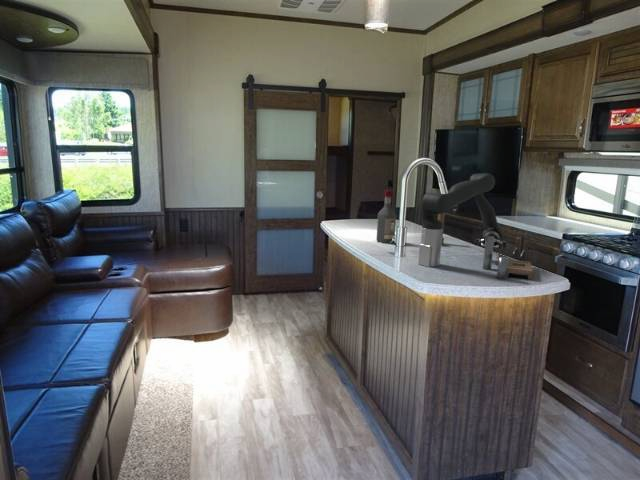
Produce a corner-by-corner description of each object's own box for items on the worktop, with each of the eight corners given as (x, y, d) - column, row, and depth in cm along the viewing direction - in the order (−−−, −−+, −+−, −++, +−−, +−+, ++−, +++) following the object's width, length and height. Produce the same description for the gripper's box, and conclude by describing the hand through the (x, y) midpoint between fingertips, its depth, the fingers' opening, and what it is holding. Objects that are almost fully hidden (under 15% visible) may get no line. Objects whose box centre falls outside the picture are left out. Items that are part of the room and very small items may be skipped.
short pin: (503, 280, 185) (505, 259, 183) (495, 278, 188) (497, 257, 186) (507, 279, 187) (509, 258, 186) (499, 277, 190) (501, 256, 188)
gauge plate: (531, 280, 187) (532, 270, 186) (505, 276, 191) (506, 267, 190) (529, 270, 203) (530, 261, 202) (505, 267, 207) (506, 259, 206)
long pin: (488, 270, 201) (491, 237, 198) (481, 268, 204) (484, 236, 201) (492, 269, 203) (495, 236, 201) (485, 267, 206) (488, 235, 203)
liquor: (374, 241, 261) (377, 190, 255) (384, 239, 267) (387, 189, 261) (386, 244, 254) (389, 191, 249) (396, 242, 260) (399, 190, 255)
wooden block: (424, 243, 259) (426, 212, 256) (439, 242, 263) (442, 212, 260) (428, 244, 256) (430, 213, 253) (443, 244, 260) (446, 213, 257)
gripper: (477, 231, 229) (474, 236, 214) (507, 233, 223) (507, 239, 209) (475, 245, 230) (473, 251, 215) (505, 248, 225) (505, 254, 210)
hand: (489, 245), depth 212 cm, fingers open, 8 cm apart
